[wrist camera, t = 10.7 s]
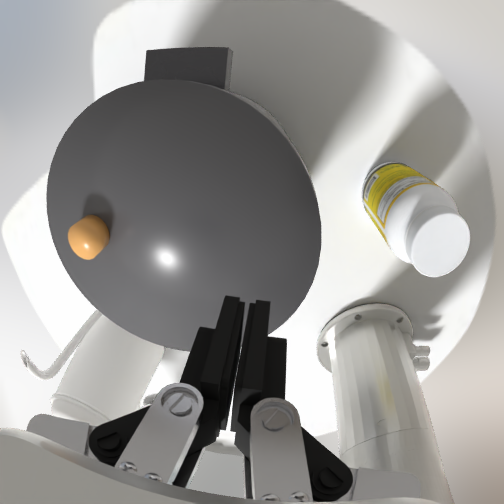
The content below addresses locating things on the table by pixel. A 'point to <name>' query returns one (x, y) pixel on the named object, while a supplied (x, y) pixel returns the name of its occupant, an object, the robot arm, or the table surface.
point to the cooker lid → (182, 210)
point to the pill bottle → (416, 218)
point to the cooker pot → (195, 68)
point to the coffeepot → (101, 372)
